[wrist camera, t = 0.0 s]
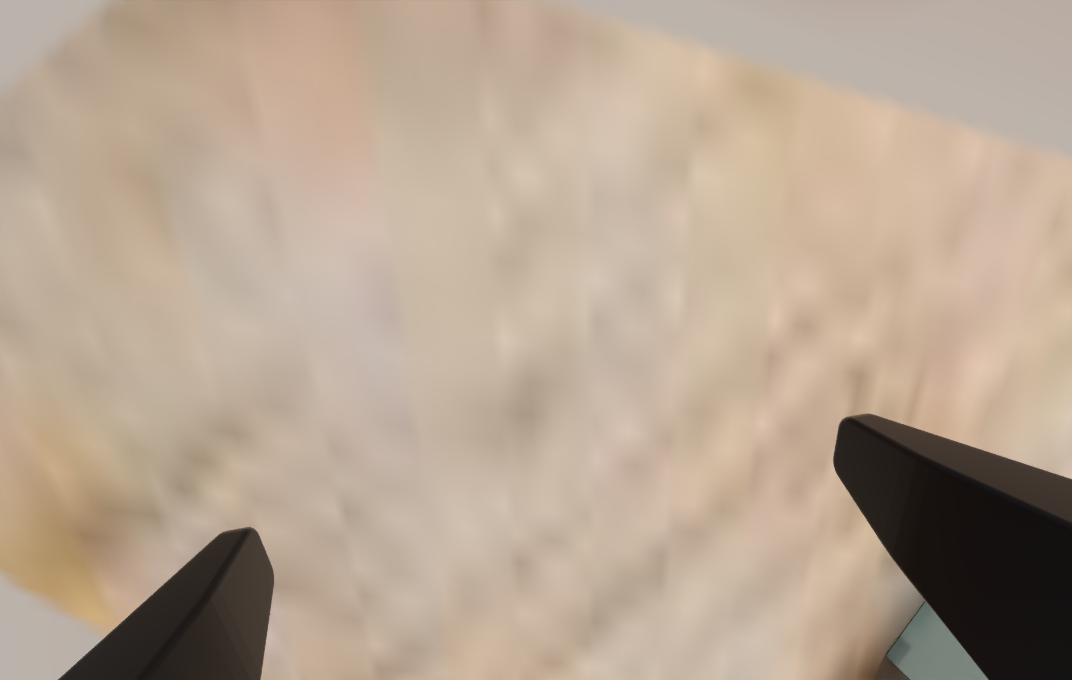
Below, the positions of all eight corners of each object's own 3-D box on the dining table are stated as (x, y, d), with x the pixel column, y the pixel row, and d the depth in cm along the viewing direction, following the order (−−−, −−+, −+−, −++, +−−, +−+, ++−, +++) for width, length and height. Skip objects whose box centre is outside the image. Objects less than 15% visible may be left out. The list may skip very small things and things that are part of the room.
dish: (992, 714, 31) (1079, 792, 27) (885, 655, 30) (960, 728, 25) (1097, 577, 31) (1204, 634, 26) (993, 507, 29) (1090, 556, 24)
